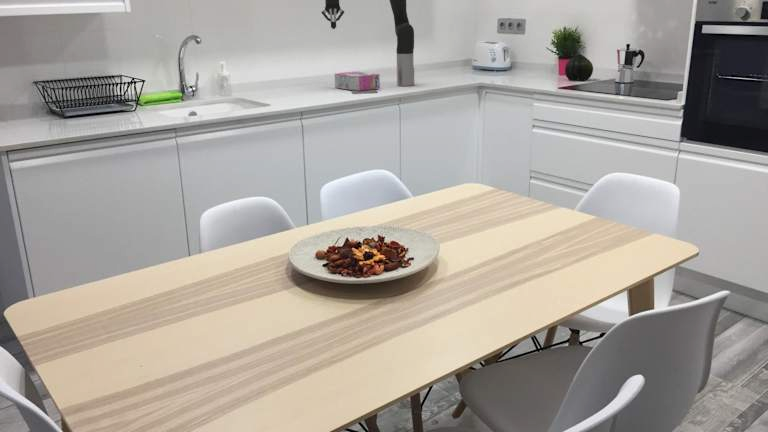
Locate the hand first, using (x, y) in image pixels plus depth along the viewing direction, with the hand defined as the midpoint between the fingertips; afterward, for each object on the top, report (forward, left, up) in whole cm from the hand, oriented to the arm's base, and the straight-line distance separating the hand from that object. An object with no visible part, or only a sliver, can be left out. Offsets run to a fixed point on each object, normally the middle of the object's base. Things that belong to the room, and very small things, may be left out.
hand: (333, 28), depth 373 cm
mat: (-14, +21, -31) cm, 40 cm away
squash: (-134, +15, -31) cm, 138 cm away
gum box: (-5, +19, -27) cm, 33 cm away
